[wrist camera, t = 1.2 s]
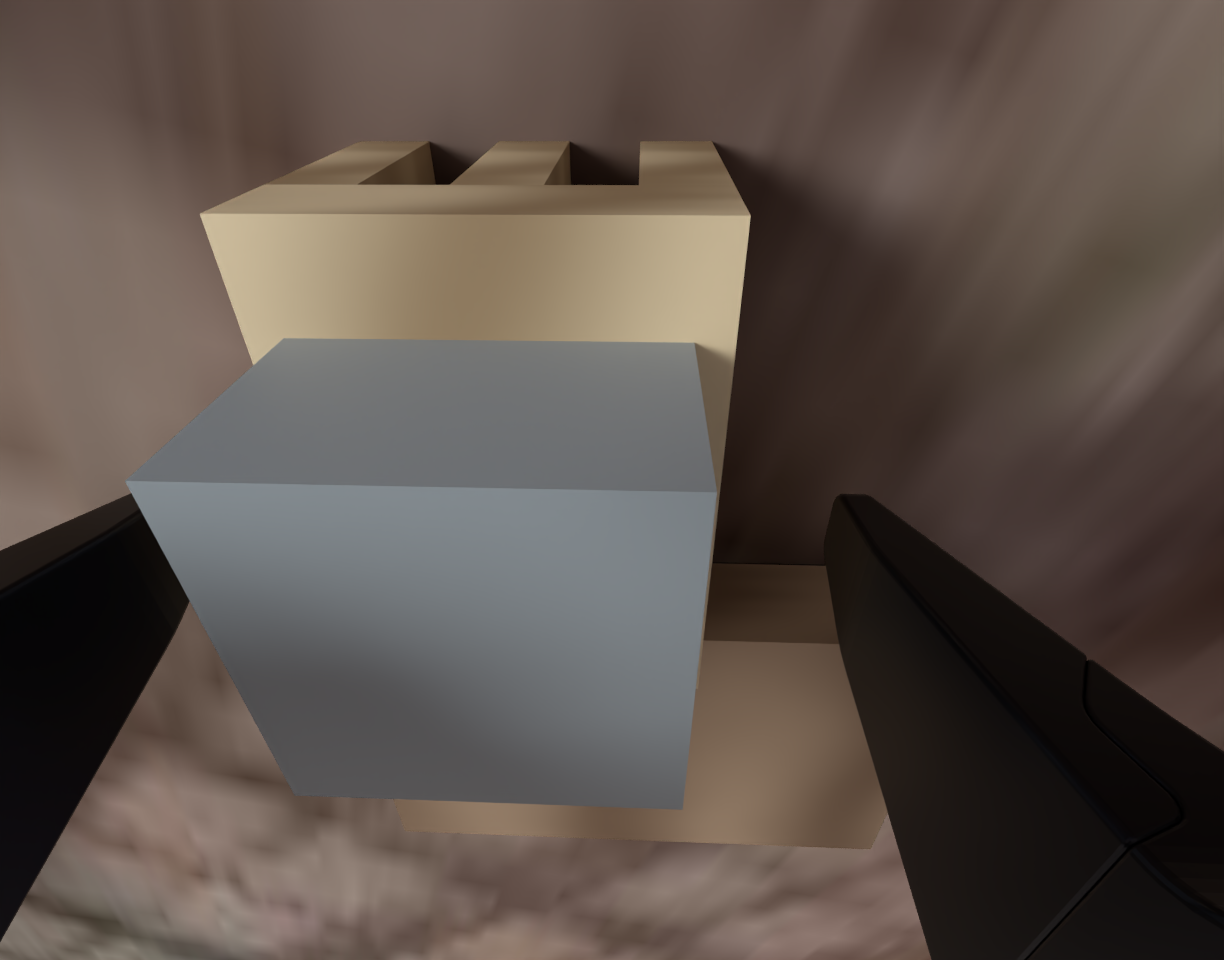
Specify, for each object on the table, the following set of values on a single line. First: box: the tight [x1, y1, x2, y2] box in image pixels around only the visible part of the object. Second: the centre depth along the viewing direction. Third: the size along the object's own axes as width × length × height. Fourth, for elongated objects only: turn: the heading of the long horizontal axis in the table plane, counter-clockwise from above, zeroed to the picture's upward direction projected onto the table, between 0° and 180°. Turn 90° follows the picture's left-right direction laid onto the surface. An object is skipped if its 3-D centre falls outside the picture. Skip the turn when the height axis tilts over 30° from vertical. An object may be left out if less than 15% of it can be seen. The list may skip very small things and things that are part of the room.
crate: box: [125, 338, 717, 810], centre depth 8 cm, size 5×5×3 cm
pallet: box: [200, 141, 751, 689], centre depth 11 cm, size 6×8×5 cm
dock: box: [393, 563, 887, 849], centre depth 18 cm, size 14×9×2 cm, turn 90°
